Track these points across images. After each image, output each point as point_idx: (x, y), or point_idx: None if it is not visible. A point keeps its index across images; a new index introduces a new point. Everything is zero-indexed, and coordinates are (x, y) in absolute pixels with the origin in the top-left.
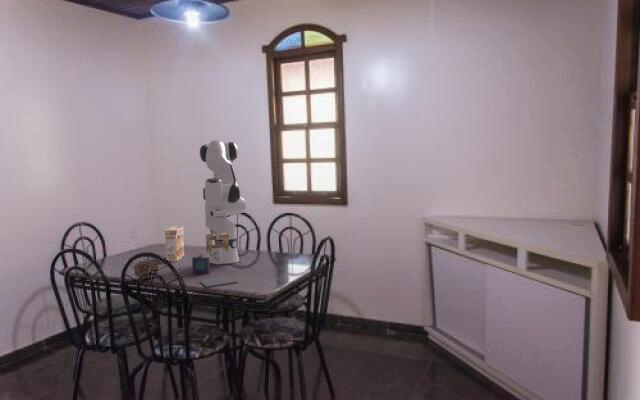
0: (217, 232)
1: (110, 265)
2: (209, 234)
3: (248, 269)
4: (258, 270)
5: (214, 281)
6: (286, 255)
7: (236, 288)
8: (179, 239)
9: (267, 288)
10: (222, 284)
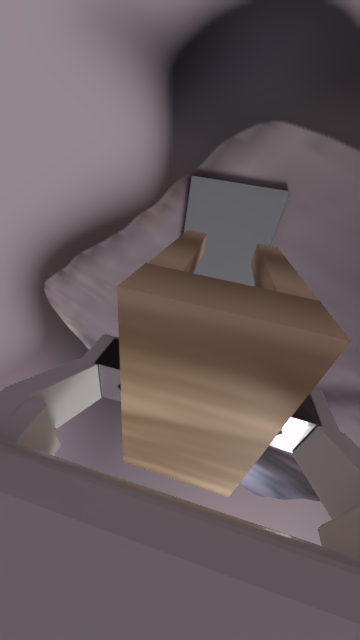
0: (1, 409)
1: None
2: (294, 387)
3: None
4: None
5: (228, 239)
6: (300, 489)
7: (123, 261)
8: None
9: (85, 317)
10: None
